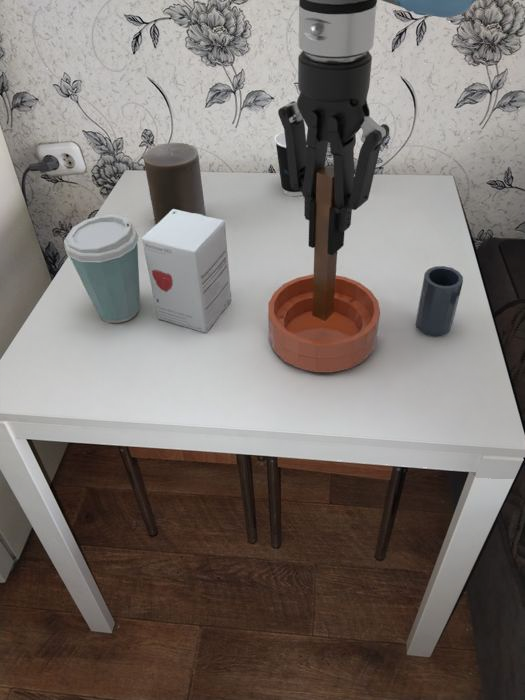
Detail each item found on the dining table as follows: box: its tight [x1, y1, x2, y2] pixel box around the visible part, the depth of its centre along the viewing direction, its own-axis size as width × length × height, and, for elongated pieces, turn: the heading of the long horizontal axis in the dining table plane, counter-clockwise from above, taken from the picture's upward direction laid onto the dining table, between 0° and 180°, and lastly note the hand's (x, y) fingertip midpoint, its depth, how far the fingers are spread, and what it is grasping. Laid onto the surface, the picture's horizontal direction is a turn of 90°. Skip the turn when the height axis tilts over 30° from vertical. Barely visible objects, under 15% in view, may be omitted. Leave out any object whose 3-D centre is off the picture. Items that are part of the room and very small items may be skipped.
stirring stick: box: [312, 165, 338, 321], centre depth 77 cm, size 2×2×22 cm
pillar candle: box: [143, 142, 207, 225], centre depth 107 cm, size 10×10×15 cm
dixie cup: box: [273, 129, 308, 197], centre depth 116 cm, size 8×8×11 cm
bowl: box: [267, 273, 381, 373], centre depth 85 cm, size 16×16×6 cm
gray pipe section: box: [415, 265, 464, 338], centre depth 85 cm, size 5×5×9 cm
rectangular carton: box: [141, 209, 232, 334], centre depth 88 cm, size 9×9×15 cm
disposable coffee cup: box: [63, 213, 141, 324], centre depth 89 cm, size 11×11×15 cm
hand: (325, 245), depth 76 cm, fingers closed on stirring stick, 2 cm apart
